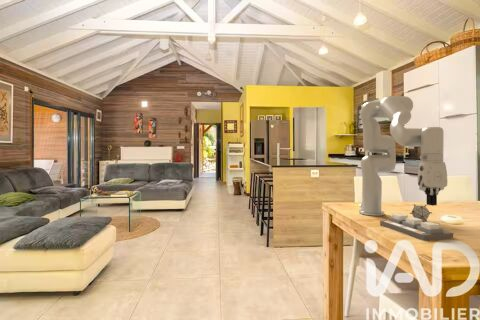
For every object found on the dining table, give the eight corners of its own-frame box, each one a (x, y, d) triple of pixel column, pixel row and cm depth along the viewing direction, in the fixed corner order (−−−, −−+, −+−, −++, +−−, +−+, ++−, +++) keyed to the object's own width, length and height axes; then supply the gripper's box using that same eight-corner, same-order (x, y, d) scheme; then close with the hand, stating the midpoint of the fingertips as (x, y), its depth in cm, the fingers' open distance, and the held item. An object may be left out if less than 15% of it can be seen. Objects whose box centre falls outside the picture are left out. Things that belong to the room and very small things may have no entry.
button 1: (392, 218, 134) (392, 213, 134) (400, 217, 135) (400, 213, 135) (399, 220, 130) (399, 216, 130) (407, 220, 131) (407, 215, 131)
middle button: (405, 222, 126) (405, 217, 126) (414, 221, 127) (414, 217, 127) (413, 225, 122) (413, 220, 122) (422, 224, 123) (422, 219, 123)
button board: (380, 224, 135) (380, 217, 135) (405, 223, 138) (406, 215, 138) (423, 240, 112) (423, 231, 112) (453, 238, 115) (453, 229, 115)
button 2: (420, 227, 119) (420, 222, 119) (429, 226, 120) (429, 221, 120) (430, 230, 114) (430, 225, 114) (439, 229, 115) (439, 224, 115)
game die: (422, 228, 144) (433, 211, 145) (426, 225, 136) (438, 208, 137) (404, 217, 148) (414, 201, 148) (407, 214, 140) (418, 197, 141)
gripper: (423, 158, 111) (423, 207, 111) (456, 158, 114) (455, 205, 114) (408, 158, 118) (408, 204, 118) (439, 158, 121) (438, 202, 121)
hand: (431, 204), depth 116 cm, fingers closed
